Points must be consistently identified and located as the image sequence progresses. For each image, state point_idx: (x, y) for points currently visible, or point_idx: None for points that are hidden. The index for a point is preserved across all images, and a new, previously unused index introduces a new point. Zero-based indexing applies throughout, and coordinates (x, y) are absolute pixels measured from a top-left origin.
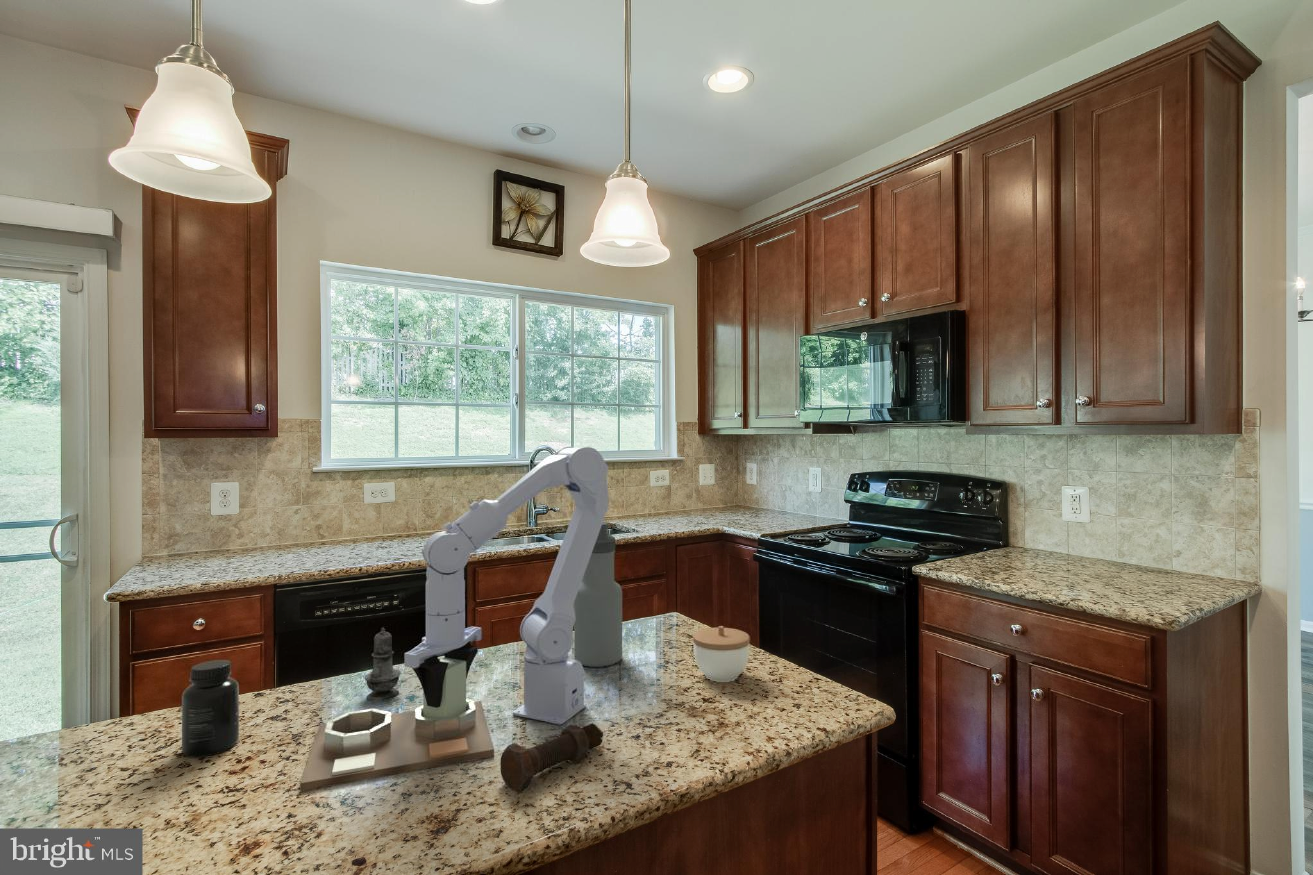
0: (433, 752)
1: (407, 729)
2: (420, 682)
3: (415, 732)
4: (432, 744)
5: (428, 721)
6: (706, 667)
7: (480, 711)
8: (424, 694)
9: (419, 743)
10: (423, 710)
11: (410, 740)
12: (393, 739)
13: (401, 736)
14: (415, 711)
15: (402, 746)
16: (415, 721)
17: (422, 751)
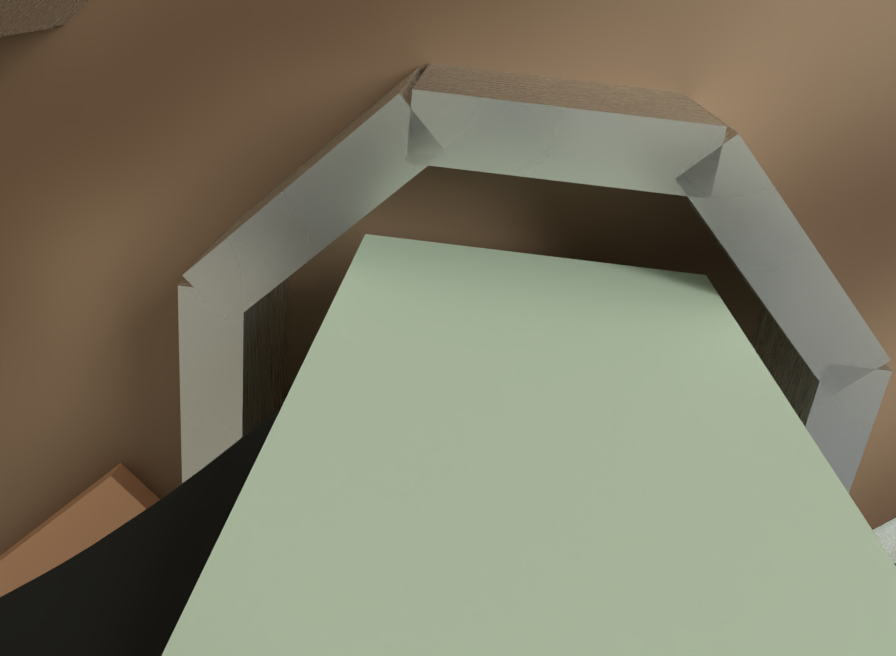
0: (20, 579)
1: (309, 46)
2: (31, 584)
3: (266, 195)
4: (112, 506)
5: (181, 455)
6: None
7: (875, 499)
8: (197, 472)
9: (125, 357)
10: (347, 271)
11: (130, 246)
12: (73, 62)
13: (156, 99)
14: (335, 147)
15: (12, 252)
16: (246, 217)
17: (33, 461)
